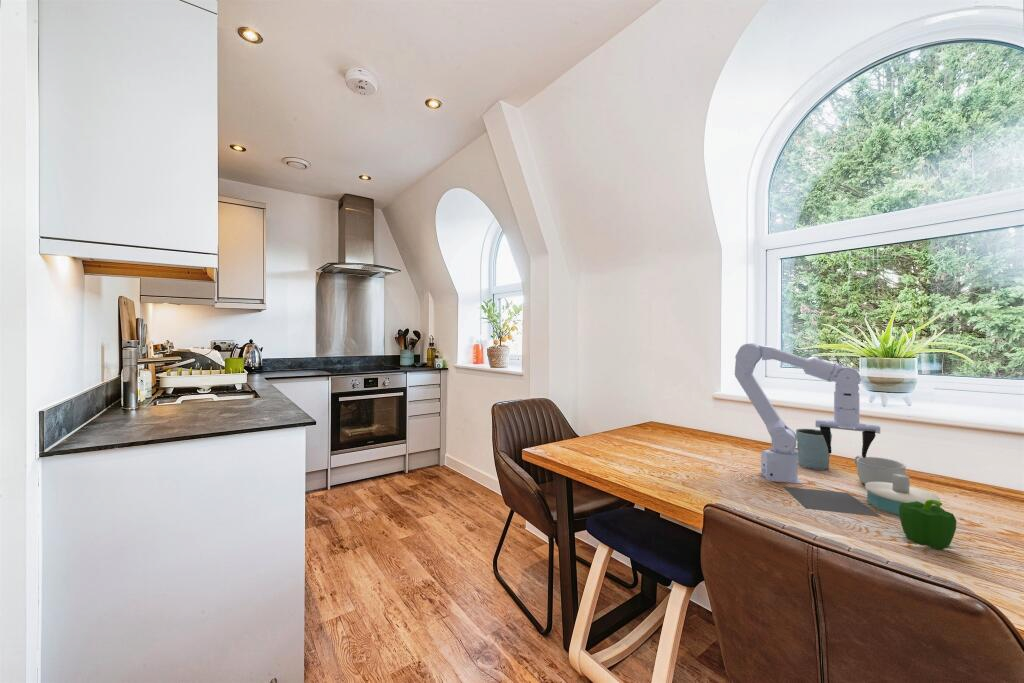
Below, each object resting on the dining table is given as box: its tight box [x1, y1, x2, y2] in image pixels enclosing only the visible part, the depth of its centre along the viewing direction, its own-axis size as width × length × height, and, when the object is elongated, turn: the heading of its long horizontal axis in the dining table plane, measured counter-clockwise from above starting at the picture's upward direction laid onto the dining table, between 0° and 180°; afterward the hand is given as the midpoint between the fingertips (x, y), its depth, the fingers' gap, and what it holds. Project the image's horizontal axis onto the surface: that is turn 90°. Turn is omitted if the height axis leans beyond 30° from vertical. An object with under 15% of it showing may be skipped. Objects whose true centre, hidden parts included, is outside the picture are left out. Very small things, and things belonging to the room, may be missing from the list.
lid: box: [864, 474, 941, 505], centre depth 105 cm, size 14×14×5 cm
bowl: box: [866, 490, 937, 516], centre depth 105 cm, size 12×12×4 cm
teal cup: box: [795, 428, 833, 471], centre depth 141 cm, size 10×10×12 cm
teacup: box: [854, 455, 907, 485], centre depth 122 cm, size 14×11×8 cm
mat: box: [783, 486, 882, 518], centre depth 110 cm, size 16×16×1 cm
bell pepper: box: [898, 499, 957, 550], centre depth 87 cm, size 8×8×10 cm
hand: (846, 454), depth 118 cm, fingers open, 7 cm apart
